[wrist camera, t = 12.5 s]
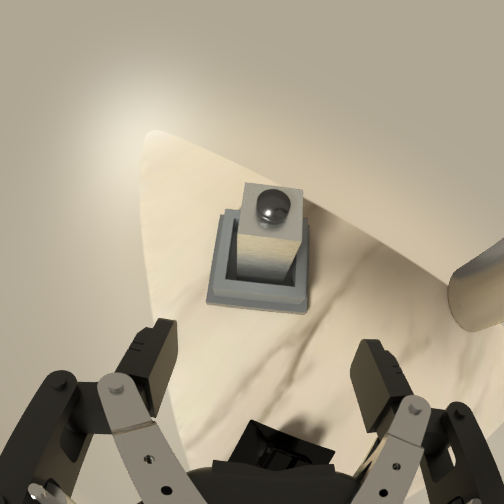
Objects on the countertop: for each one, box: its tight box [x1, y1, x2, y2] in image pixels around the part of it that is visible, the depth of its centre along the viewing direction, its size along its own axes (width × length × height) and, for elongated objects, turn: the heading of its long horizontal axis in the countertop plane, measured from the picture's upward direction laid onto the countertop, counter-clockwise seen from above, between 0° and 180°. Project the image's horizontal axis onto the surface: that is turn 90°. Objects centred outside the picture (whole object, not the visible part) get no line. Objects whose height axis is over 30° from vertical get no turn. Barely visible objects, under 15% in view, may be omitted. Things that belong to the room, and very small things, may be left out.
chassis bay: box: [206, 209, 309, 315], centre depth 30 cm, size 10×10×4 cm
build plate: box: [228, 420, 335, 471], centre depth 21 cm, size 12×7×5 cm, turn 63°
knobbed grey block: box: [237, 182, 303, 285], centre depth 25 cm, size 4×4×11 cm
